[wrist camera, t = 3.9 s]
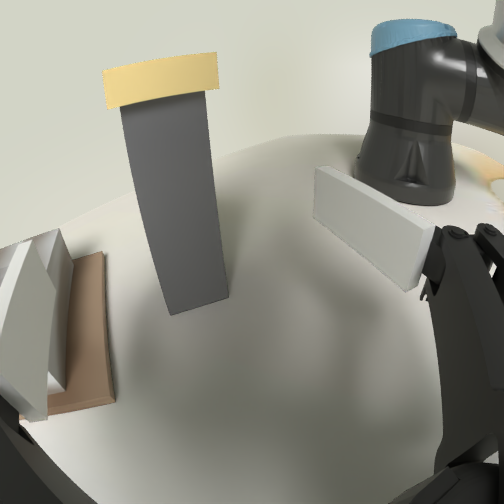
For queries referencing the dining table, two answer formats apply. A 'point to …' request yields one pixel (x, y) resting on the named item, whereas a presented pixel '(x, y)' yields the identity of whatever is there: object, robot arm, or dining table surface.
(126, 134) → the plug
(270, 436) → the dining table surface
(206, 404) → the dining table surface
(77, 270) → the socket
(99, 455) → the dining table surface
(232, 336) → the dining table surface
